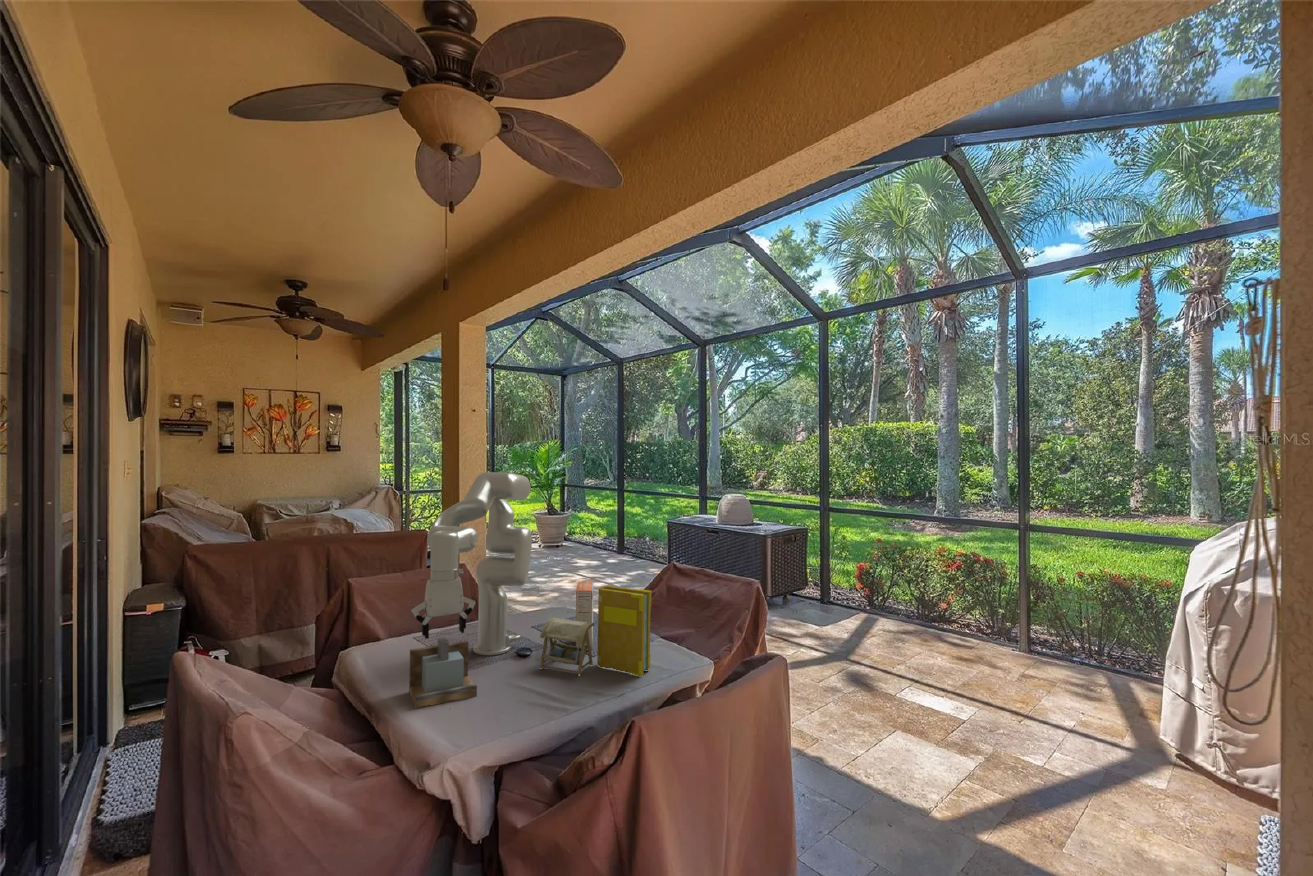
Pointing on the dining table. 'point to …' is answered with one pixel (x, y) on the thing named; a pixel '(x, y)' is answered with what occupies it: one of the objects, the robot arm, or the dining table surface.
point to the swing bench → (566, 653)
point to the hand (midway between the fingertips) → (444, 634)
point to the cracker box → (585, 606)
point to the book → (624, 629)
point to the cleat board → (445, 695)
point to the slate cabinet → (442, 669)
